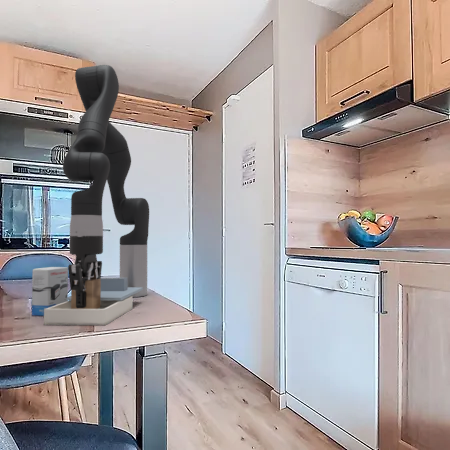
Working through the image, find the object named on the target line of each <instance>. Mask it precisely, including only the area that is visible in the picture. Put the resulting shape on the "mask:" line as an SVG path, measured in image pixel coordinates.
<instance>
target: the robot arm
mask: <svg viewBox="0 0 450 450" xmlns="http://www.w3.org/2000/svg"><path fill="white" fill-rule="evenodd" d="M74 79H75V84H76V89H77V92H78V95H79V97H80V100H81V103H82V105H83V107H84V110H85V112H84V114H82V116H81V118H80V119H79V122H78V126H77V132H76V137H75V139H74V141H73V143H72V145H71V146H70V147H69V149H68V150H67V152H66V153H65V156H64V158H63V162H62V171H63V174H64V175H65V177H66V178H67V179H68V180H69V181H72V182H92V184H91V186H90V187H88V188H86V189H82V190H77V191H74V192H73V193H72V194H71V199H70V206H71V207H70V212H71V213H70V215H71V216H70V222H69V254H70V255H72V256H73V255H75V260H74V264H68V266H67V267H68V280H69V286H70V291H71V290H74V291H75V292H76V308H85V307H86V292H85V291H86V289H87V282H88V281H90V279H101V278H102V268H103V262H102V260H98V259H97V255H101V254H103V252H104V223H103V222H104V221H103V198H104V197H103V196H104V192H105V188H106V183H107V185H108V190H109V194H110V198H111V202H112V208H113V209H112V210H113V214H114V216H115V219H116V221H117V222H118V224H119V225H122V226H134V227H133V229H132V230H131V231H130V232H129V233H126V234H124V235H121V236H120V238H119V278H128V287H143V290H141V291H139V292H137V293H135V294H133V295H131V296H133V297H132V298H136V297H137V298H138V297H139V298H140V297H144V296H148V239H149V227H150V225H149V224H150V223H149V222H150V205H149V202H148V200H147V199H146V198H143V197H131V198H129V197H126V194H125V183H126V178H127V176H128V173H129V172H130V169H131V167H132V166H131V165H132V156H131V152H130V149H129V145H128V141H127V140H126V138H125V136H124V135H123V134H122V133H121V132H120V130H118V129H117V128H116V127H115V126H114V125H113V124H112V123H111V122H110V118H111V115H112V113H113V110H114V108H115V105H116V102H117V99H118V96H119V93H120V92H119V90H120V85H119V84H120V83H119V78H118V76H117V72H116V71H115V69H114V68H113V66H111V65H108V64H102V65H101V64H100V65H93V66H84V67H79V68H77V69H76V70H75V73H74ZM74 281H75V284H74Z"/></svg>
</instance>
